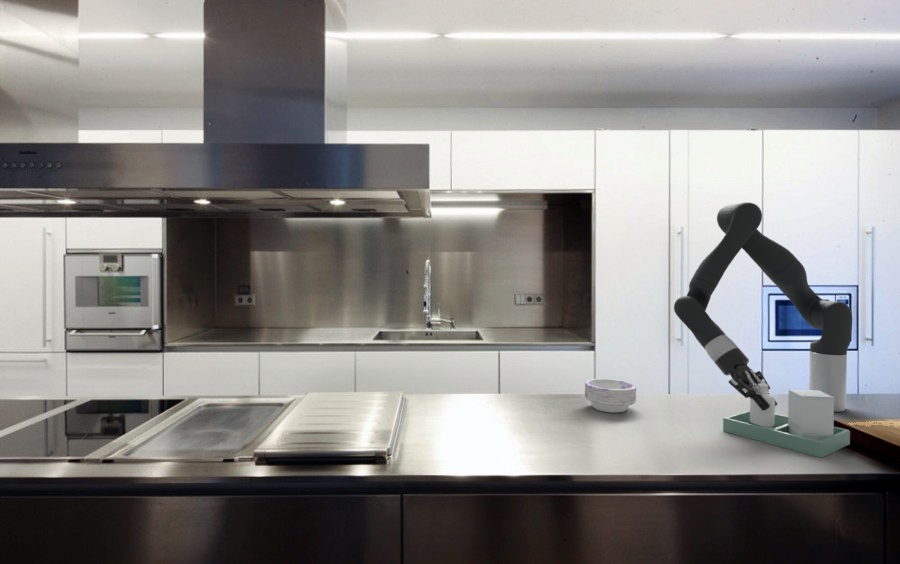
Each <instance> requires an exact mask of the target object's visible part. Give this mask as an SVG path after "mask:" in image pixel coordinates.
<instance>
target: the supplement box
mask: <svg viewBox="0 0 900 564" xmlns="http://www.w3.org/2000/svg"><path fill="white" fill-rule="evenodd" d="M787 397H788V401H787V403H788V404H787V405H788V406H787V407H788V408H787V416H788V433H789V434H793V435H797V436H801V437H805V438H809V439H813V440H817V441H821V440H823V439H825V438H828V437H830V436H832V435H833V427H835V426H834V424H835V423H834V416H835V415H834V413H835V412H834V397H832V396H830V395H828V394H825V393H823V392H821V391H818V390H809V389H788V396H787Z"/></svg>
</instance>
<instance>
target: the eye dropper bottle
mask: <svg viewBox="0 0 900 564" xmlns="http://www.w3.org/2000/svg"><path fill="white" fill-rule="evenodd" d="M765 380H766V379H765ZM765 380H764V379H762V380H761V383H760V384H758V387H757V389H758V392H759V395H760V394H761V395H762V397H763V398H764V399H765V400H766V401H767V403H768V404H769V405H770V407H769V408H768V409H766V410H764V411H763V410H762V409H761V408H760V407H759V406H758V405H757V403H756V402H755V401H754V400H753V399H750V398H749V400H750V401H749V402H750V403H749V410H750V422H751V423H750V424H753V425H757V426H761V427H765V428H768V427H769V428H771V427H774V424H775V413H776V406H775V401H776V398H775V397H774V396H773V395H772V394H770V393H769V392H768V385H769V384H768V385H767V384H766V383H765ZM768 393H769V394H768Z"/></svg>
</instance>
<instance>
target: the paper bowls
mask: <svg viewBox="0 0 900 564" xmlns="http://www.w3.org/2000/svg"><path fill="white" fill-rule="evenodd" d="M584 398H585V399H586V400H587V401H589V402H590V404H591V406H592V407H593V408H594V409H595V410H597V411H600V412H604V413H614V414H619V413H624V412H626V411H627V410H628V409H629V407H630V406H631V405H634V404H636V402H637V386H636V385H635V384H633V383H632V382H629V381H625V380H619V379H614V378H613V379H611V378H593V379H587V380H586V381H585V382H584Z"/></svg>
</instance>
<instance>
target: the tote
mask: <svg viewBox="0 0 900 564" xmlns="http://www.w3.org/2000/svg"><path fill="white" fill-rule="evenodd" d="M749 423H750V424H749ZM773 427H774V428H770V427H769V428H768V427H766V426H760V425H757V424H753V423H751V422H750V409H748V410H746V411H742V412H739V413H735V414H731V415H729V416H725V417H723V420H722V431H723V432H726V433H730V434H734V435H737V436H739V437H740V436H741V437H743V438H744V437H745V438H747V439H751V440H755V441H757V442H758V441H759V442H762V443H767V444H770V445H772V446H773V445H774V446H777V447H781V448H783V449H788V450H791V451H795V452H799V453H803V454H807V455H810V456H814V457H817V458H824V457H825V456H828V455H830V454H832V453H834V452H837V451H838V450H840V449H843V448H844V447H847V446H849V445H850V444H851V430H850V429H846V428H842V427H837V426H833V435H832V436H830V437H828V438H825V439H823V440H821V441H817V440H813V439H809V438H805V437H801V436H797V435H793V434H789V433H788V415H783V414H779V413H776V412H775V424H774V426H773ZM849 430H850V431H849Z"/></svg>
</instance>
